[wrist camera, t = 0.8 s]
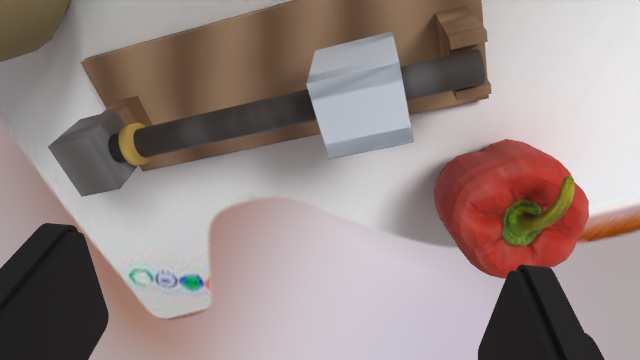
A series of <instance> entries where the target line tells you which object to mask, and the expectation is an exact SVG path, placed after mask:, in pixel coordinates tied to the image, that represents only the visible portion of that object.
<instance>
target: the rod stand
mask: <svg viewBox="0 0 640 360" xmlns="http://www.w3.org/2000/svg"><path fill="white" fill-rule="evenodd" d="M391 31H392V32H393V37H394V41H395V45H396V50H397V54H398V59H399V63H400V69H401V74H402V80H403V85H404V91H405V96H406V102H407V107H408V113H409V115H411V114H416V113H421V112H425V111H430V110H435V109H439V108H444V107H449V106H454V105H458V104H463V103H468V102H472V101H477V100H482V99H487V98H489V95H488V94H491V84H490V83H489V81H488V80H487V69H486V56H485V43H484V42H487V31H486V30H485V28H484V27H483V17H482V3H481V0H293V1H290V2H286V3H282V4H279V5H275V6H272V7H268V8H265V9H261V10H257V11H254V12H250V13H247V14H243V15H240V16H236V17H232V18H229V19H225V20H222V21H218V22H214V23H211V24H207V25H204V26H200V27H197V28H193V29H189V30H186V31H182V32H179V33H175V34H171V35H168V36H164V37H161V38H157V39H154V40H150V41H146V42H143V43H139V44H136V45H132V46H129V47H125V48H121V49H118V50H114V51H111V52H107V53H103V54H100V55H96V56H93V57H89V58H86V59H85V60H83V61H82V62H81V64H82V66H83V68H84V69H85V71H86V73H87V75H88V76H89V78H90V80H91V82H92V83H93V85H94V87H95V89H96V90H97V92H98V94H99V96H100V97H101V99H102V101H103V103H104V104H105V106H106V108H107V109H106V110H105V111H104V112H103V113H102V114H100V115H96V116H92V117H88V118H84V119H80V120H79V121H78V122H77V123H75V124H74V125H73V126H72V127H71V128H69V129H68V130H67V131H66V132H65V133H64V134H62V135H61V136H60V137H59V138H58V139H57V140H55V141H54V142H53V143H52V144H51V145H49V146H48V148H49V149H50V151H51V152H52V154H53V155H54V157H55V158H56V160H57V161H58V163H59V164H60V165H61V167H62V168H63V170H64V171H65V173H66V174H67V176H68V177H69V179H70V180H71V182H72V183H73V185H74V186H75V187H76V189H77V190H78V192H79V193H80V195H81V196H87V195H92V194H97V193H102V192H107V191H111V190H116V189H120V188H121V187H122V185H123V184H124V183H125V181H126V180H127V179H128V178H129V176H130V175H131V174H132V173H133V171H134V170H135V169H136V167H137V166H138V165H139V166H140V167H141V169H142V171H147V170H152V169H156V168H161V167H166V166H171V165H175V164H180V163H185V162H189V161H194V160H199V159H204V158H208V157H213V156H218V155H222V154H227V153H232V152H237V151H241V150H246V149H251V148H255V147H260V146H265V145H270V144H274V143H279V142H284V141H288V140H293V139H298V138H303V137H307V136H312V135H317V134H321V131H320V128H319V124H318V121H317V118H316V114H315V111H314V108H313V104H312V101H311V98H310V95H309V91H308V88H307V85H306V84H307V80H308V76H309V72H310V68H311V65H312V61H313V57H314V53H315V51H316V50H320V49H324V48H327V47H331V46H335V45H339V44H343V43H347V42H351V41H355V40H359V39H363V38H367V37H371V36H375V35H379V34H383V33H387V32H391Z"/></svg>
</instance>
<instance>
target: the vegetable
mask: <svg viewBox="0 0 640 360" xmlns="http://www.w3.org/2000/svg"><path fill="white" fill-rule="evenodd" d="M434 197H435V206H436V209H437V211H438V214H439V217H440V219H441V220H442V222H443V223H444V225H445V227H446V228H447V230H448V231H449V233H450V234H451V236H452V237H453V239H454V240H455V242H456V244H457V245H458V247H459V249H460V250H461V251H462V253H463V254H464V255H465V256H466V257H467V259H468V260H469V261H470V263H471V264H472V265H474V266H475V267H477V268H478V269H479V270H481V271H482V272H484V273H486V274H488V275H491V276H495V277H499V278H505V279H506V278H507V275H508V273H509V272H510V271H516V269H517V268H518V266H520V265H533V266H545V267H555V266H556V265H558V264H560V263H561V262H563V261H565V260H566V259H567V258H568V257H569V255H570V254H571V253H572V252H573V250H574V248H575V245H576V242H577V240H578V238H579V236H580V235H581V233H582V231H583V229H584V227H585V224H586V222H587V220H588V217H589V211H588V200H587V197H586V195H585V193H584V191H583V190H582V189H581V188H580V187H579V186H578V185H577V184H576V183H575V182H574V179H573V178H572V176H571V174H570V172H569V171H568V170H567V169H566V168H565V167H564V166H563V165H562V164H561V163H560V162H559V161H558V160H556V159H555V158H554V157H552V156H550V155H548V154H546V153H544V152H542V151H540V150H538V149H536V148H534V147H532V146H530V145H528V144H526V143H523V142H519V141H514V140H508V139H505V140H502V141H500V142H497V143H494V144H491V145H489V146H488V147H487V148H486V149H485V150H483V151H479V152H470V153H466V154H463V155H460V156H457V157H456V158H455V159H453V160H452V161H451V162H450V163H448V164H447V166H446V167H445V168H444V170H443V171H442V172H441V174H440V176H439V178H438V180H437V183H436V186H435V189H434Z"/></svg>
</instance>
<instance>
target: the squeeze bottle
mask: <svg viewBox="0 0 640 360" xmlns="http://www.w3.org/2000/svg"><path fill="white" fill-rule="evenodd" d="M69 2H70V0H0V62H2V61H5V60H8V59H11V58H14V57H17V56H20V55H23V54H27V53H30V52H33V51H36V50H38V49H39V48H40V47H41V46H43V45H44V44H45V43H47V42H48V41H49V40H50V39H52V37H53V35H54V33H55V31H56V29H57V28H58V26H59V24H60V22H61V20H62V18H63V16H64V15H65V12H66V10H67V7H68V4H69Z"/></svg>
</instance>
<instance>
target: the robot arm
mask: <svg viewBox="0 0 640 360" xmlns="http://www.w3.org/2000/svg"><path fill="white" fill-rule="evenodd" d="M107 323H108V310H107V307H106V304H105V301H104V298H103V294H102V291H101V288H100V285H99V282H98V278H97V275H96V272H95V269H94V266H93V262H92V259H91V256H90V253H89V249H88V246H87V243H86V240H85V237H84V235H83V234H82V233H79V232H78V230H77V229H76V227H74V226H72V225H62V224H51V223H45V224H43V225H41V226H40V227H39V228H38V229H37V230H36V231H35V232H34V233H33V234H32V236H31V237H30V238H29V239H28V240H27V241H26V242H25V243H24V244H23V245H22V246H21V247H20V248H19V250H17V251H16V253H15V254H14V255H13V256H12V257H11V258H10V259H9V260H8V261H7V262H6V263H5V264H4V265H3V266H2V268H1V269H0V360H88V359H89V357H90V355H91V353H92V352H93V350H94V348H95V346H96V345H97V343H98V341H99V339H100V338H101V336H102V334H103V332H104V331H105V329H106V326H107ZM478 360H604V358H603V356H602V354H601V352H600V350H599V348H598V346H597V345H596V343H595V342H594V340H593V339H592V338H591V337H590V336H589V335H588V334H586V333H584V331H583V329H582V327H581V325H580V323H579V321H578V319H577V317H576V315H575V313H574V311H573V309H572V307H571V305H570V303H569V301H568V299H567V297H566V295H565V293H564V292H563V290H562V288H561V285H560V283H559V282H558V280H557V278H556V276H555V274H554V272H553V271H552V269H551V268H549V267H545V266H533V265H520V266H518V268H517V269H516V271H510V272H509V273H508V275H507V278H506V280H505V283H504V285H503V288H502V290H501V293H500V295H499V298H498V300H497V303H496V305H495V308H494V310H493V313H492V315H491V318H490V320H489V323H488V326H487V328H486V331H485V333H484V336H483V338H482V341H481V344H480V346H479V349H478Z"/></svg>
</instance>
